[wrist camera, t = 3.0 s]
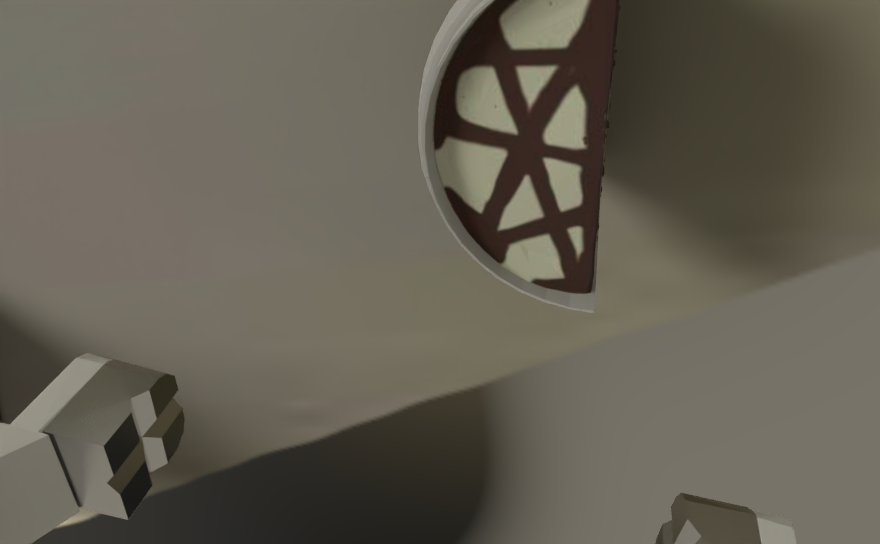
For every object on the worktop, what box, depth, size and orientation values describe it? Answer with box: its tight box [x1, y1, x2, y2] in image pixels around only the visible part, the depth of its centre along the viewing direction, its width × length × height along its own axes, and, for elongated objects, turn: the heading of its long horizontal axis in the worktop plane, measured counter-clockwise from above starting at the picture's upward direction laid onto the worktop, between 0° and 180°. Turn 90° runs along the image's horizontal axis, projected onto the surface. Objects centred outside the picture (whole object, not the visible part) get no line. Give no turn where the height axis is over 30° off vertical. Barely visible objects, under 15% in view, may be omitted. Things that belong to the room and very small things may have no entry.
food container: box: [418, 0, 620, 313], centre depth 24 cm, size 12×6×10 cm, turn 3°
